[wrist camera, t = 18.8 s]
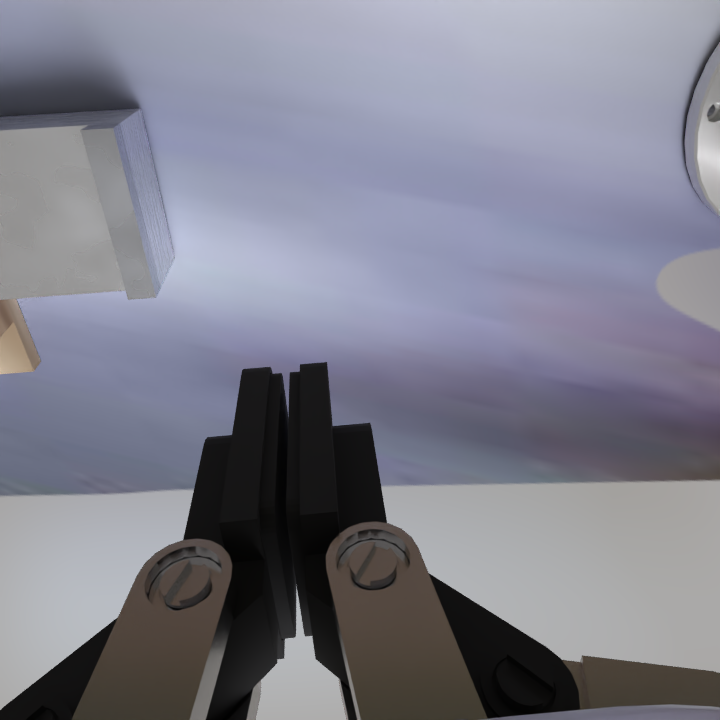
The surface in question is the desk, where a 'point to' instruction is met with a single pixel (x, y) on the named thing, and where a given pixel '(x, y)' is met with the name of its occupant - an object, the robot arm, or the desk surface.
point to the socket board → (15, 340)
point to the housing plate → (80, 206)
